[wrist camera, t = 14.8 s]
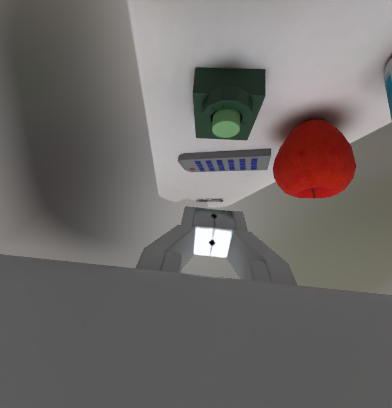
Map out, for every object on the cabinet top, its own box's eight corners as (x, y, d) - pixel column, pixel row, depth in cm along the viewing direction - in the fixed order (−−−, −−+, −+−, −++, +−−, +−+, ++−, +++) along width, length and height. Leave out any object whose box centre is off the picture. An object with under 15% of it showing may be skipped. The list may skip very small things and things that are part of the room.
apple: (266, 144, 41) (267, 204, 38) (284, 104, 29) (286, 185, 27) (326, 144, 39) (331, 207, 36) (369, 101, 28) (381, 188, 25)
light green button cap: (213, 106, 23) (212, 120, 23) (242, 107, 23) (242, 122, 23) (212, 124, 27) (211, 137, 26) (237, 125, 27) (237, 138, 26)
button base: (194, 58, 23) (190, 99, 22) (268, 59, 23) (269, 102, 22) (197, 118, 34) (195, 148, 33) (247, 120, 34) (247, 150, 33)
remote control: (267, 163, 50) (267, 171, 49) (186, 166, 56) (185, 173, 55) (270, 148, 42) (271, 157, 42) (176, 153, 48) (175, 161, 48)
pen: (223, 199, 89) (223, 202, 89) (196, 199, 94) (195, 202, 94) (223, 198, 88) (223, 201, 88) (195, 199, 93) (195, 201, 93)
